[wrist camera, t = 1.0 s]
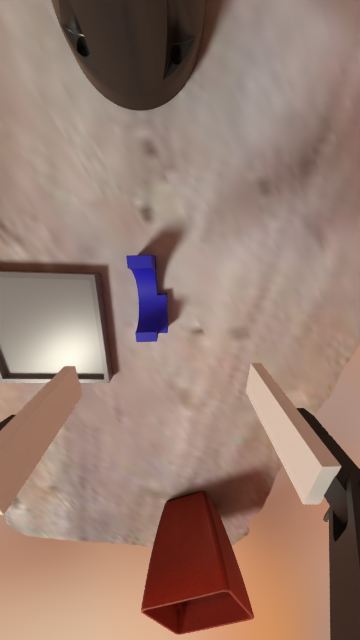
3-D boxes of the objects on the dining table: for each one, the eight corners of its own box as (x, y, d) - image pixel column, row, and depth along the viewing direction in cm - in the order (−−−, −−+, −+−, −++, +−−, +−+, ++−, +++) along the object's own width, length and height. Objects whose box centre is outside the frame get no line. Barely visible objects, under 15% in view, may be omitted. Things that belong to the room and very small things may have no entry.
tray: (-31, 269, 26) (-47, 270, 24) (99, 273, 27) (94, 274, 25) (9, 375, 33) (-1, 382, 31) (112, 376, 34) (109, 383, 32)
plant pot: (211, 480, 47) (229, 592, 31) (231, 513, 53) (255, 620, 38) (150, 498, 49) (138, 612, 33) (176, 527, 55) (177, 635, 40)
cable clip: (168, 325, 31) (166, 341, 25) (143, 326, 31) (136, 341, 25) (165, 255, 27) (162, 255, 21) (136, 256, 26) (126, 255, 21)
